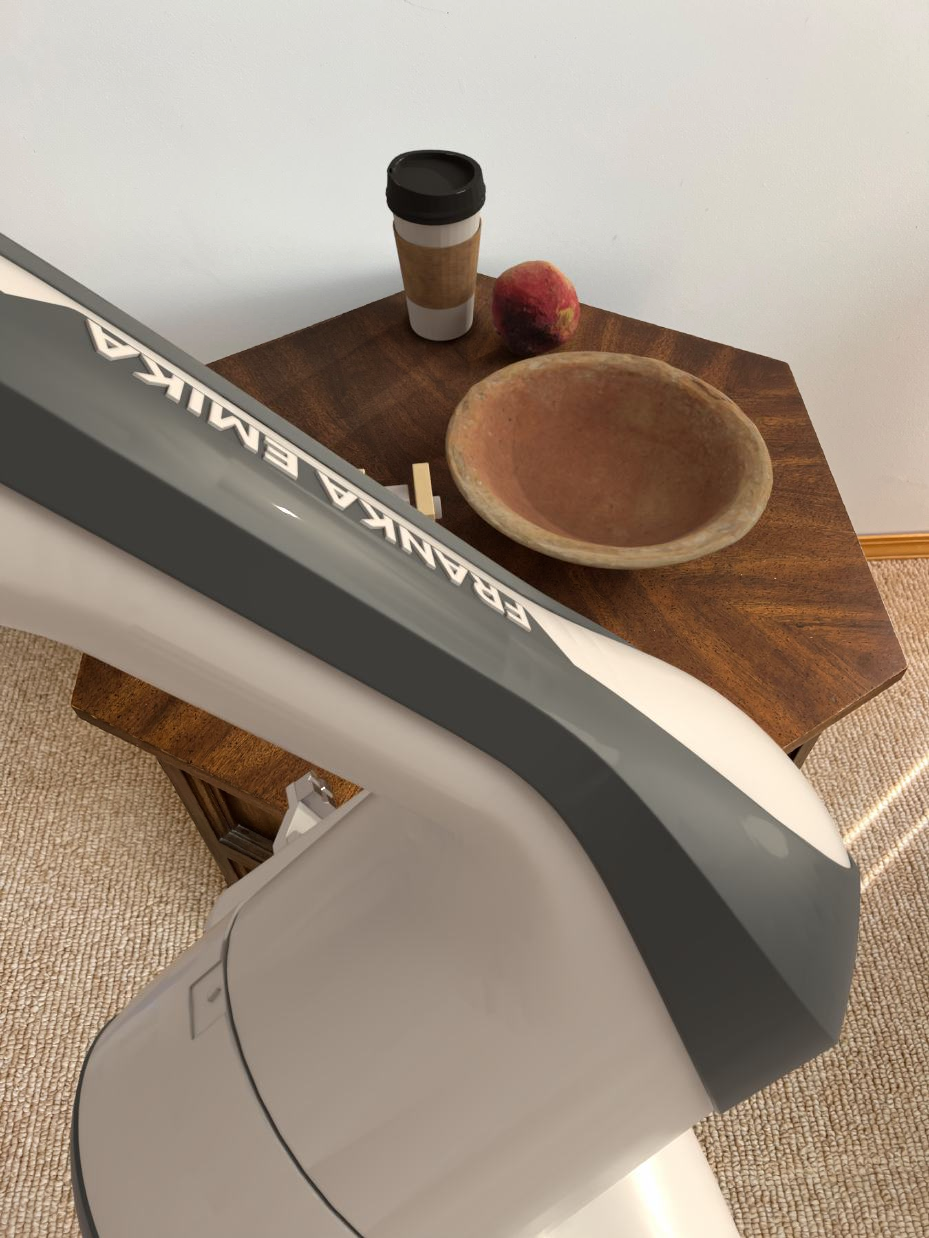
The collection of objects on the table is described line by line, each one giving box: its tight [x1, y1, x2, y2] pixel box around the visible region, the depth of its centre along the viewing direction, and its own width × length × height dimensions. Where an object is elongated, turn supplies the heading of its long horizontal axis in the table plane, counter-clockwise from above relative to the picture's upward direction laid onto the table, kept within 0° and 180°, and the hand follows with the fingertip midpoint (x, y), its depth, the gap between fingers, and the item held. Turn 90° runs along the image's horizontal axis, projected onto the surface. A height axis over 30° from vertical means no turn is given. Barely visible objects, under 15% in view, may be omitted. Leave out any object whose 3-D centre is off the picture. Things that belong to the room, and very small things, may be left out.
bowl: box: [444, 350, 774, 571], centre depth 71 cm, size 24×24×8 cm
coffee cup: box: [384, 149, 487, 342], centre depth 83 cm, size 8×8×15 cm
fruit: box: [491, 259, 581, 357], centre depth 84 cm, size 8×8×8 cm
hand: (386, 727), depth 45 cm, fingers open, 8 cm apart
